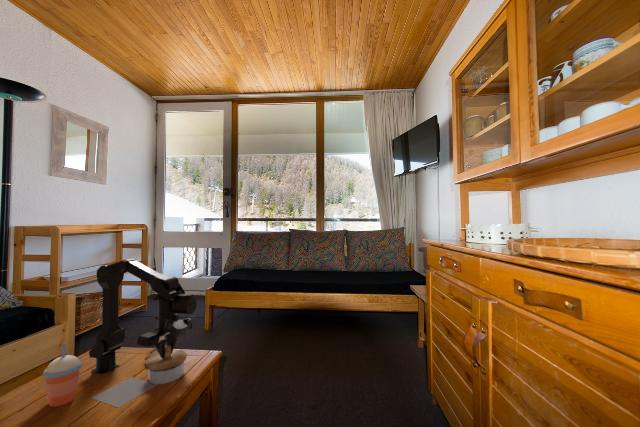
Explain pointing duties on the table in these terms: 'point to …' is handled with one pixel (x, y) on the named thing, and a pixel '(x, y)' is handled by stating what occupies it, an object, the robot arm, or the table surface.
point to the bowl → (165, 374)
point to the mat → (124, 392)
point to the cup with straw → (62, 378)
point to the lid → (166, 359)
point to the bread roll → (151, 353)
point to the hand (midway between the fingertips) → (166, 355)
